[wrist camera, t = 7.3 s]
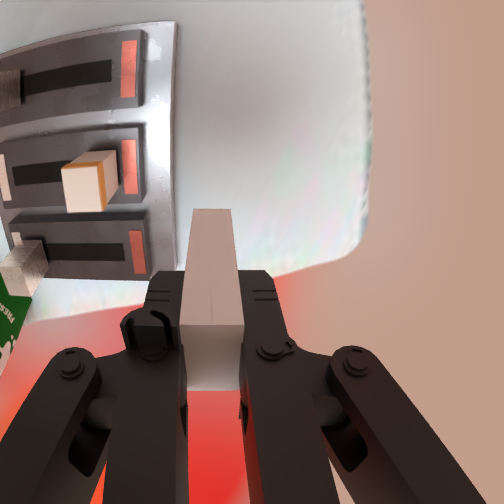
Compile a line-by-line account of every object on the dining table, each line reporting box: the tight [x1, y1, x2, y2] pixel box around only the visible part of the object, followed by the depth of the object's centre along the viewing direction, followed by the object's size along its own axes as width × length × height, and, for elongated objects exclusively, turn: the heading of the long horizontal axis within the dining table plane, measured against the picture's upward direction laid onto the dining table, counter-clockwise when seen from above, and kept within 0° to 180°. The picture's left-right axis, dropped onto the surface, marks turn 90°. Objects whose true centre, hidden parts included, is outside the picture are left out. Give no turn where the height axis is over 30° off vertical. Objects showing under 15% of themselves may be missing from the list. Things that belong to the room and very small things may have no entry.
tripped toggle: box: [61, 150, 119, 213], centre depth 18 cm, size 3×2×4 cm
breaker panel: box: [0, 21, 178, 297], centre depth 19 cm, size 21×17×8 cm
